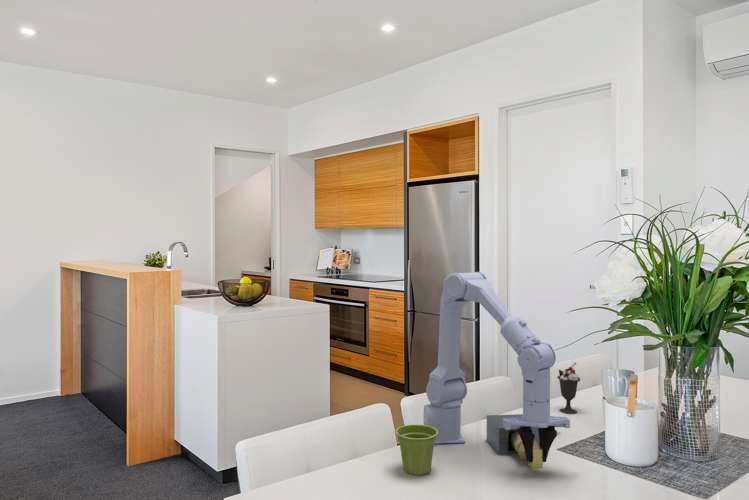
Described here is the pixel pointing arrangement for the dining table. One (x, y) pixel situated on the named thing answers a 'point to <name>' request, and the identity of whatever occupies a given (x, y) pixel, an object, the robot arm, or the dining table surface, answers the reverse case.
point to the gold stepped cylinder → (518, 446)
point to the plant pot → (416, 447)
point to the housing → (502, 434)
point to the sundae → (568, 387)
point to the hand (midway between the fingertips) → (536, 460)
